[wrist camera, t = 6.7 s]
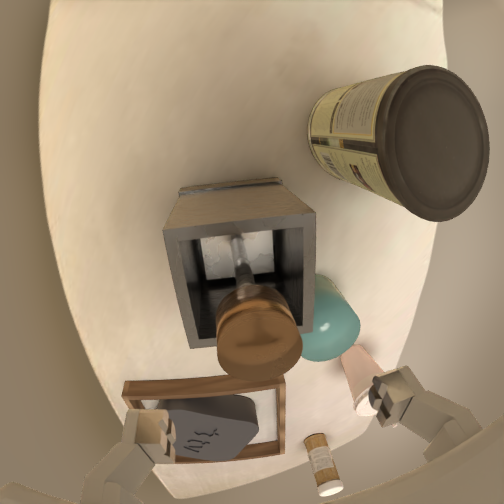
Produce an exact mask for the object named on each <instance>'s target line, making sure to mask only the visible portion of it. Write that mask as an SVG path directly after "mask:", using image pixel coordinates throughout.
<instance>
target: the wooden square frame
mask: <svg viewBox="0 0 504 504" xmlns="http://www.w3.org/2000/svg"><path fill="white" fill-rule="evenodd" d="M275 388H276V399H277V434H278V440H277V441H271V442H265V443H258V444H251V445H246V446H245V447H244V448H243V449H242V450H241V451H240V452H239V453H238V455H237V456H236V457H234V458H233V459H230V460H227V461H237V460H246V459H254V458H261V457H268V456H274V455H280V454H285V399H286V383H285V379H284V376H283V374H282V375H280V376H278V377H276V378H273V379H270V380H265V381H255V382H253V381H244V380H240V379H237V378H235V377H233V376H231V375H223V376H213V377H202V378H190V379H174V380H152V381H125V384H124V388H123V392H122V398H123V400H124V401H125V403H126V405H127V406H128V408H129V409H145V408H144V406H143V404H142V402H141V401H140V400H158V399H184V398H199V397H211V396H222V395H231V394H240V393H248V392H255V391H262V390H268V389H275ZM213 462H226V461H209V460H202V459H196V458H190V457H184V456H179V455H175V464H189V463H213Z"/></svg>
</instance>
